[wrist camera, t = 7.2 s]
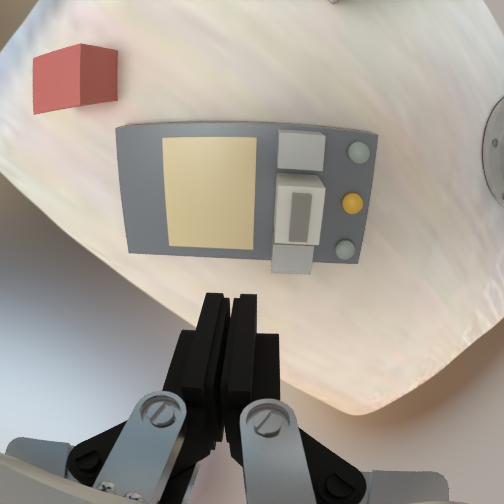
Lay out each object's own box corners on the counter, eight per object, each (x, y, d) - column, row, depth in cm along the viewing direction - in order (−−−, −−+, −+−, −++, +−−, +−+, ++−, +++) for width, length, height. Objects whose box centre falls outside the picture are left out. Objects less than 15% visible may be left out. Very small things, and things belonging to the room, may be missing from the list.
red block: (117, 50, 20) (80, 43, 15) (117, 100, 23) (80, 105, 17) (74, 60, 21) (33, 58, 15) (74, 107, 23) (33, 114, 17)
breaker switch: (317, 175, 23) (326, 190, 19) (312, 225, 24) (319, 248, 21) (276, 172, 23) (278, 187, 19) (273, 222, 25) (275, 246, 21)
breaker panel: (369, 131, 23) (389, 139, 19) (352, 252, 28) (365, 279, 24) (125, 125, 24) (100, 132, 20) (136, 243, 29) (118, 267, 25)
